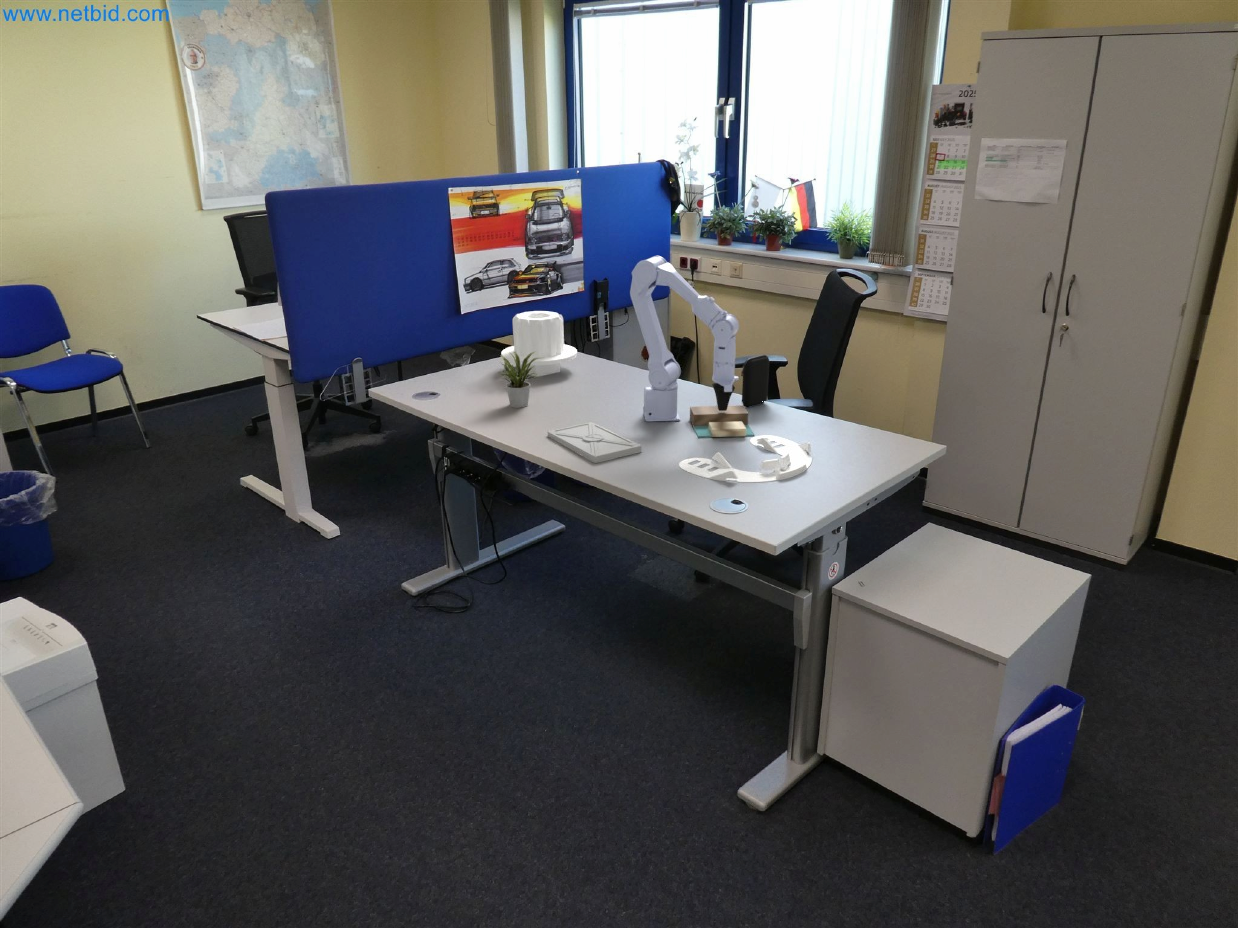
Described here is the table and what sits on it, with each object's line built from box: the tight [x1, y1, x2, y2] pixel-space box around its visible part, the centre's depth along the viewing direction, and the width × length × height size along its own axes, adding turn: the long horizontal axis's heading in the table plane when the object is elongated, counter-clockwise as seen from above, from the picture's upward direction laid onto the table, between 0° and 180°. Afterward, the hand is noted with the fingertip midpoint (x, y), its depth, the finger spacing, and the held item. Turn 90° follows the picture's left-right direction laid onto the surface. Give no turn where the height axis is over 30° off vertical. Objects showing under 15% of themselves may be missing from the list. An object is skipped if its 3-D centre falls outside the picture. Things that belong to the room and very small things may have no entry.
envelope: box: [546, 421, 642, 464], centre depth 222 cm, size 24×2×14 cm
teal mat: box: [693, 424, 755, 438], centre depth 230 cm, size 15×8×1 cm, turn 94°
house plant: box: [498, 351, 540, 409], centre depth 250 cm, size 14×14×16 cm
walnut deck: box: [689, 404, 749, 428], centre depth 237 cm, size 15×7×4 cm, turn 94°
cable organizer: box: [678, 434, 813, 484], centre depth 209 cm, size 35×24×3 cm
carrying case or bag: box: [740, 354, 770, 409], centre depth 248 cm, size 11×3×15 cm, turn 128°
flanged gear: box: [500, 310, 578, 378], centre depth 283 cm, size 25×25×19 cm
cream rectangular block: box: [709, 421, 747, 438], centre depth 228 cm, size 9×6×2 cm, turn 94°
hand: (722, 410), depth 234 cm, fingers closed
